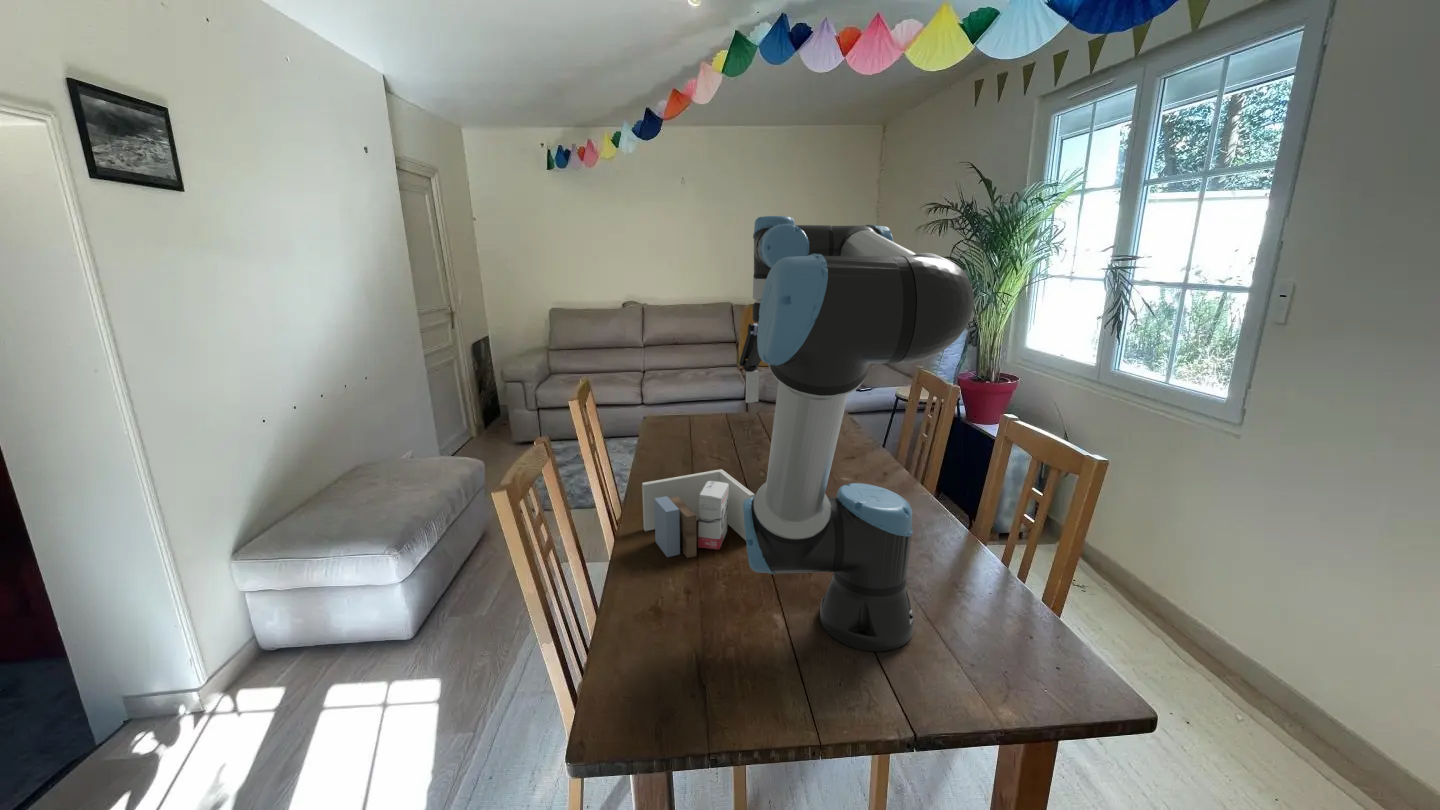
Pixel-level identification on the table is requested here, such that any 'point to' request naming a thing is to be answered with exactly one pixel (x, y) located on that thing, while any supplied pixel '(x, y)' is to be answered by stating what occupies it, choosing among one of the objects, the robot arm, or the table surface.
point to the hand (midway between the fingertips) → (769, 409)
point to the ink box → (713, 514)
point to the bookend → (686, 528)
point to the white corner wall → (687, 488)
